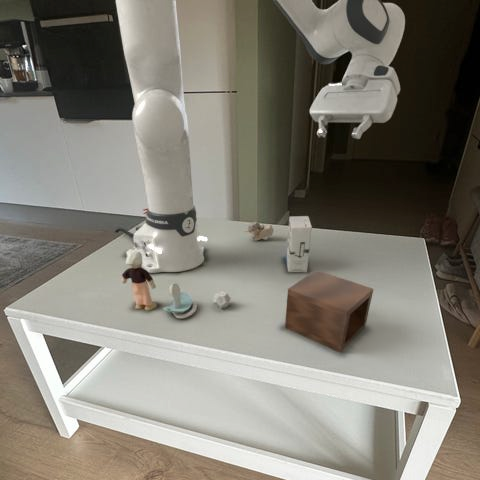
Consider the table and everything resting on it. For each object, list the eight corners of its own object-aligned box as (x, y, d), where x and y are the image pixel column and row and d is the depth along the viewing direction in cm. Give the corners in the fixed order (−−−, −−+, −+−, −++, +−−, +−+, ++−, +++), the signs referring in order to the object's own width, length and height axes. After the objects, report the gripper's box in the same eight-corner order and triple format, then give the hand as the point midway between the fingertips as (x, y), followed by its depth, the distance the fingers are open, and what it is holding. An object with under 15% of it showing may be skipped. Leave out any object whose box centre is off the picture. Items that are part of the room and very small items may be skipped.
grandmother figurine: (163, 302, 80) (155, 248, 73) (158, 311, 77) (149, 255, 70) (129, 300, 81) (118, 246, 74) (123, 310, 78) (110, 254, 70)
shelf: (284, 327, 72) (287, 288, 67) (312, 307, 78) (316, 269, 73) (340, 352, 65) (347, 311, 60) (365, 328, 71) (373, 288, 66)
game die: (218, 300, 81) (217, 288, 79) (233, 303, 79) (233, 291, 78) (210, 308, 78) (209, 295, 76) (226, 311, 77) (225, 299, 75)
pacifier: (202, 305, 79) (177, 300, 81) (201, 280, 75) (175, 274, 77) (186, 323, 73) (160, 317, 75) (184, 297, 70) (157, 291, 71)
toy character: (251, 242, 113) (243, 224, 111) (275, 233, 110) (267, 215, 108) (249, 247, 110) (241, 229, 107) (273, 238, 107) (266, 220, 104)
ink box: (285, 258, 98) (288, 215, 92) (304, 258, 98) (308, 215, 92) (288, 272, 91) (291, 227, 85) (307, 272, 91) (312, 227, 85)
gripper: (319, 74, 89) (295, 127, 90) (401, 67, 77) (372, 128, 77) (329, 93, 94) (306, 142, 95) (407, 89, 81) (381, 146, 82)
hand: (337, 136), depth 86 cm, fingers open, 8 cm apart
